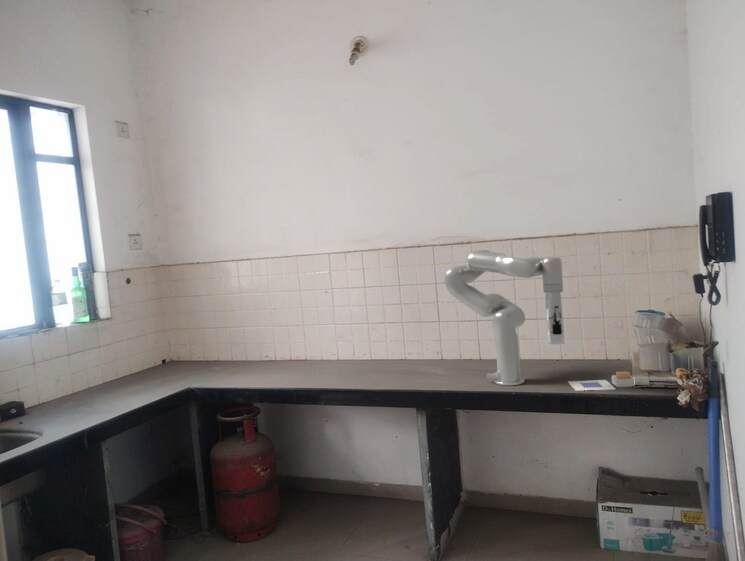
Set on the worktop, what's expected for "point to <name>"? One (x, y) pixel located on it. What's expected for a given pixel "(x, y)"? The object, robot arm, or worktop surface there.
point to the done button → (623, 375)
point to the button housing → (622, 382)
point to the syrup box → (552, 338)
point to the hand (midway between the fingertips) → (555, 332)
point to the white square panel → (591, 385)
